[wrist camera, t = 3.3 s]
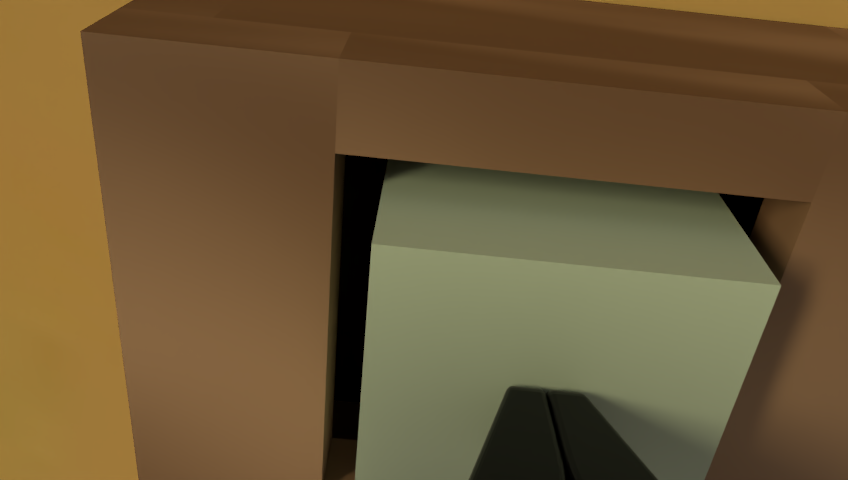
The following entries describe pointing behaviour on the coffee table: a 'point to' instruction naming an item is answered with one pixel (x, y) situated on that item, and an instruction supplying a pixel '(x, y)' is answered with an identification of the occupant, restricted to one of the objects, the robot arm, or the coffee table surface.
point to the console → (448, 145)
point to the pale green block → (552, 314)
